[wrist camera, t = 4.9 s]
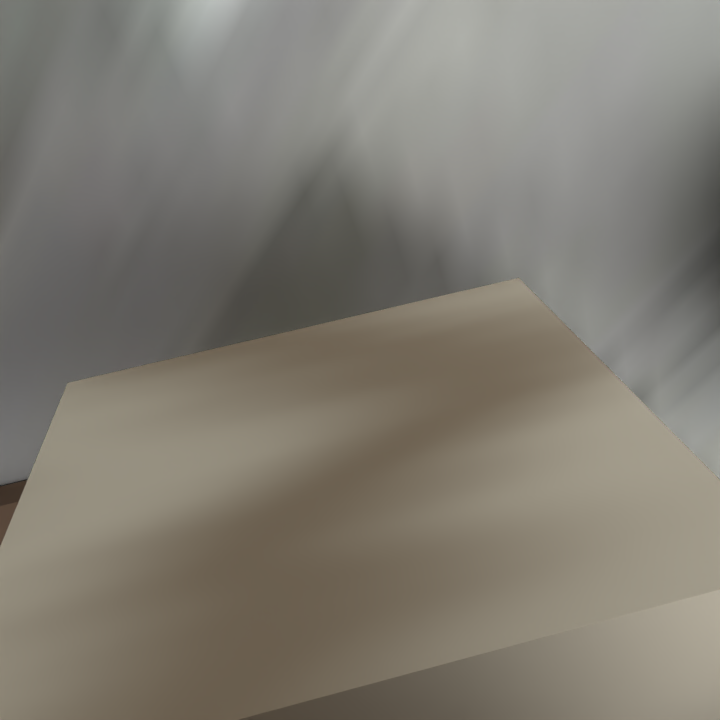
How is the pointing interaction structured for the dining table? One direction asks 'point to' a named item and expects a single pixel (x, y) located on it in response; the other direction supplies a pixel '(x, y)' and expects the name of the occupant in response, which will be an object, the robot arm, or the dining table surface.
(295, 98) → the dining table surface
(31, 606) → the ash block
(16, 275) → the dining table surface
